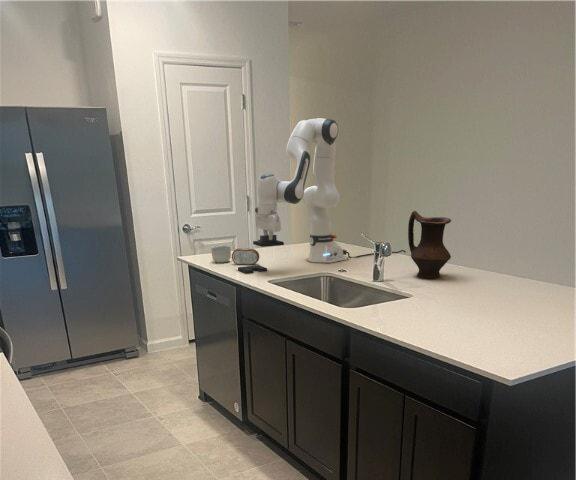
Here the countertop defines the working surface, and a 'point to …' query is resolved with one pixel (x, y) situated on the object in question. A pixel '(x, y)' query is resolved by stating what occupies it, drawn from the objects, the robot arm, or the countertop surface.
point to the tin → (245, 256)
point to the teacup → (221, 253)
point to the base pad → (252, 269)
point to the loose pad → (268, 241)
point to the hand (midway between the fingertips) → (268, 239)
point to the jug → (428, 245)
